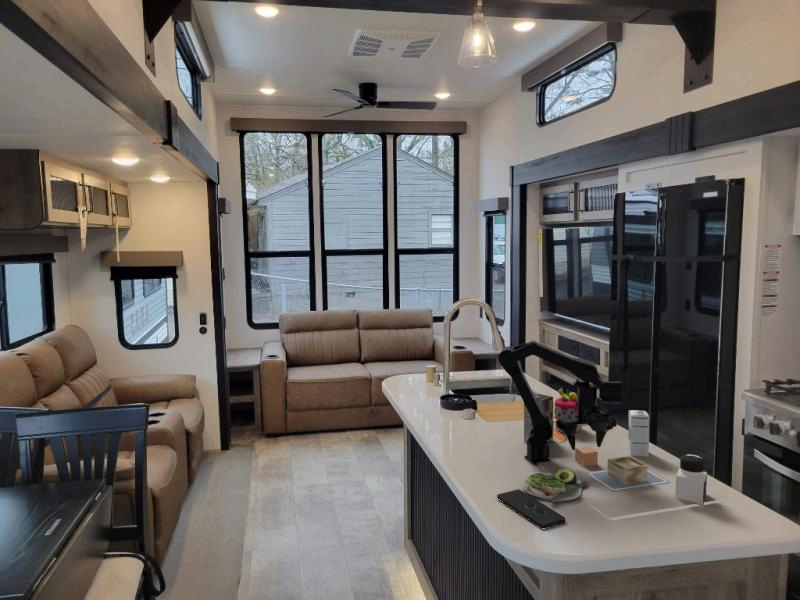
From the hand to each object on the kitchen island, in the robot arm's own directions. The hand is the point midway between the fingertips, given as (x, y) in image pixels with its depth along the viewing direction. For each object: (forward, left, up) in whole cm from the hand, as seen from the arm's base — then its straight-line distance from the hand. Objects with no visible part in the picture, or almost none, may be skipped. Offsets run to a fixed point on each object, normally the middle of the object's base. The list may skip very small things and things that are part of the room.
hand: (585, 448), depth 193 cm
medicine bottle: (+14, -30, -6) cm, 34 cm away
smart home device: (-32, -23, -6) cm, 40 cm away
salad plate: (-19, -13, -6) cm, 24 cm away
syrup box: (+21, +2, -6) cm, 22 cm away
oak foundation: (+5, -14, -5) cm, 16 cm away
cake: (+13, +32, -6) cm, 35 cm away
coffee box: (-4, +24, -6) cm, 25 cm away
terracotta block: (0, 0, -5) cm, 5 cm away
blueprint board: (+5, -14, -5) cm, 16 cm away
